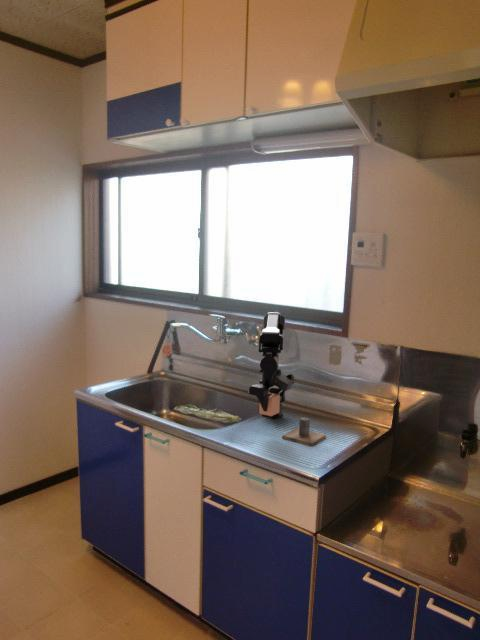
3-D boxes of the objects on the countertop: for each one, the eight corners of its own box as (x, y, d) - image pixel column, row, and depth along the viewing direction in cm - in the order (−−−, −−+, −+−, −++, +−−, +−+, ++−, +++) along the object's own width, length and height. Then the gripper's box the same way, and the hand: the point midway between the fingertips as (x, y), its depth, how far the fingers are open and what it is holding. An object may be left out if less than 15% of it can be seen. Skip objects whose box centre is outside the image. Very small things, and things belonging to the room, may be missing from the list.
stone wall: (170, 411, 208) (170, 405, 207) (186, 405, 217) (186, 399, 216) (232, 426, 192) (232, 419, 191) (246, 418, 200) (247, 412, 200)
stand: (282, 438, 179) (282, 419, 178) (296, 430, 187) (296, 411, 186) (312, 446, 172) (313, 426, 171) (325, 437, 180) (326, 418, 179)
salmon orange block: (259, 413, 179) (259, 395, 178) (267, 409, 183) (267, 392, 182) (271, 416, 176) (272, 398, 175) (279, 412, 180) (279, 394, 179)
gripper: (275, 375, 165) (274, 420, 167) (303, 365, 180) (302, 407, 182) (247, 370, 171) (247, 414, 173) (276, 360, 186) (275, 401, 188)
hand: (269, 409), depth 179 cm, fingers closed on salmon orange block, 5 cm apart
